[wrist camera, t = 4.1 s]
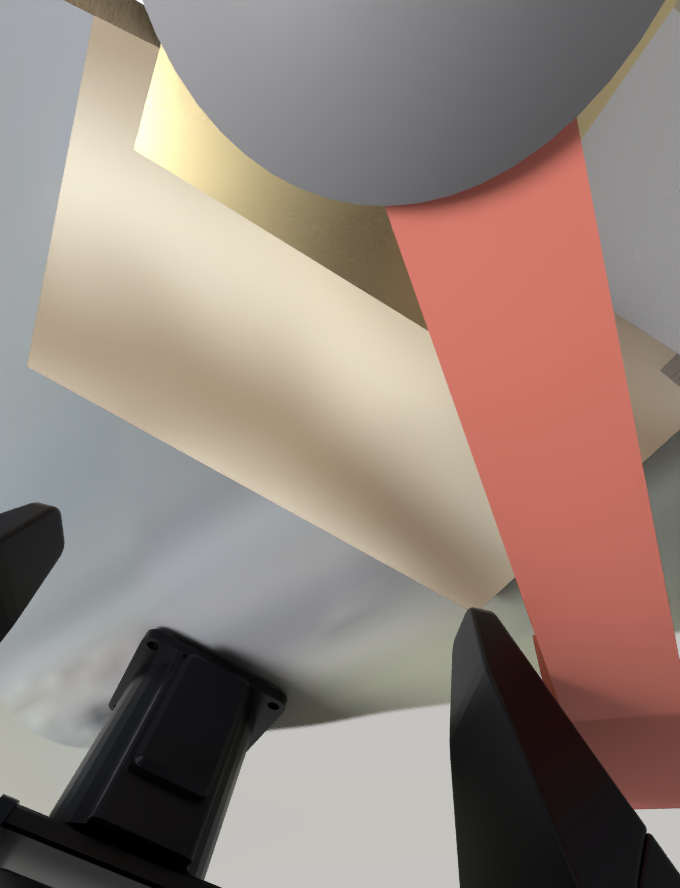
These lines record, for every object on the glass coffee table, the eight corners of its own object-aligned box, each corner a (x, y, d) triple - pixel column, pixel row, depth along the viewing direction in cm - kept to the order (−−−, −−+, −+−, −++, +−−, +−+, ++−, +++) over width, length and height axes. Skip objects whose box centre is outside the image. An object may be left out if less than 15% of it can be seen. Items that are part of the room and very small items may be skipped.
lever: (728, 682, 9) (810, 820, 7) (507, 704, 10) (525, 825, 8) (570, -491, 4) (727, -1257, 2) (158, -133, 5) (-15, -333, 3)
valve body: (647, 415, 11) (757, 534, 8) (121, 84, 10) (-76, 19, 6) (912, 162, 9) (1312, 145, 5) (221, -357, 7) (-33, -1010, 3)
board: (472, 589, 16) (474, 613, 15) (51, 355, 14) (27, 366, 13) (1070, 26, 8) (1149, 6, 7) (269, -639, 6) (243, -771, 5)
